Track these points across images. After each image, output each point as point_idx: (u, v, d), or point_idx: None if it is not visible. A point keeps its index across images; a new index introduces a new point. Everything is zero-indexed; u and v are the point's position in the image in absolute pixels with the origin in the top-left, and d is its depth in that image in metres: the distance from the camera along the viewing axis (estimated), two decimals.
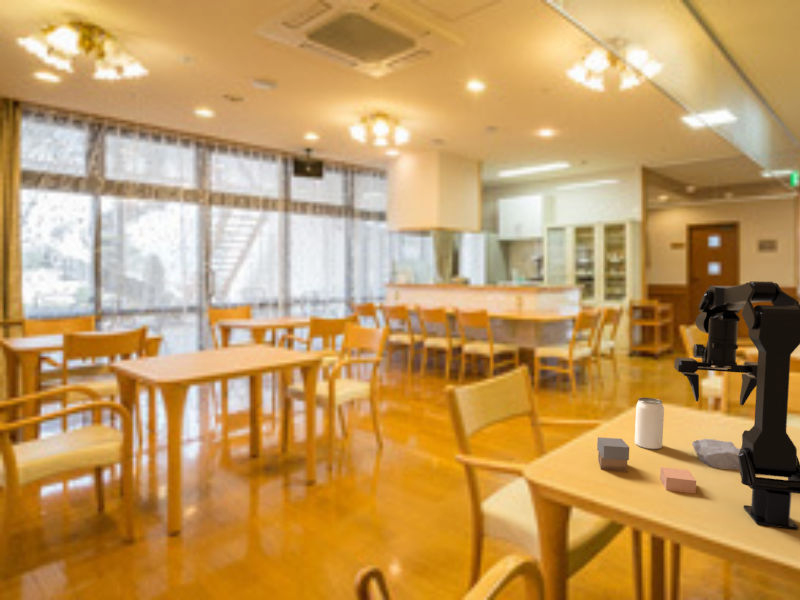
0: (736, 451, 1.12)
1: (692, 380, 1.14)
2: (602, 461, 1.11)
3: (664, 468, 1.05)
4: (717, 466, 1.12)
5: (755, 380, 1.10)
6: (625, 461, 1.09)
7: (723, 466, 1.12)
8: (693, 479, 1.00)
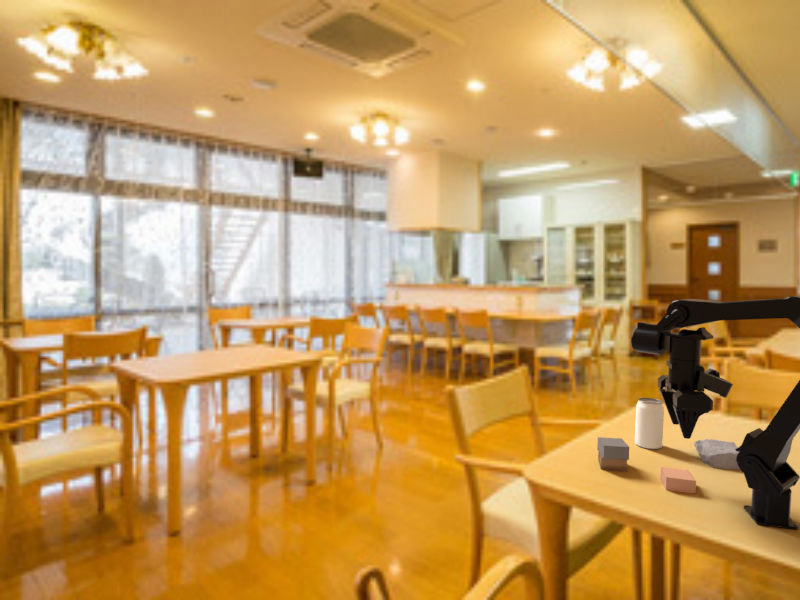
0: (738, 451, 1.12)
1: (662, 397, 1.09)
2: (602, 461, 1.11)
3: (664, 468, 1.05)
4: (719, 466, 1.12)
5: (674, 407, 0.97)
6: (625, 461, 1.10)
7: (725, 466, 1.12)
8: (693, 479, 1.00)
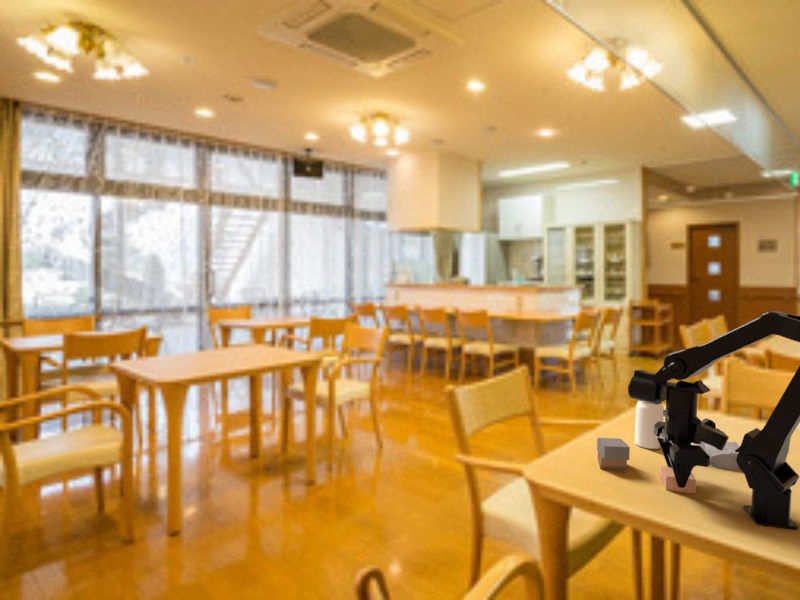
0: None
1: (660, 447, 1.07)
2: (602, 461, 1.11)
3: (664, 467, 1.05)
4: (722, 467, 1.12)
5: (669, 457, 0.99)
6: (624, 461, 1.10)
7: (728, 467, 1.12)
8: (693, 478, 1.00)
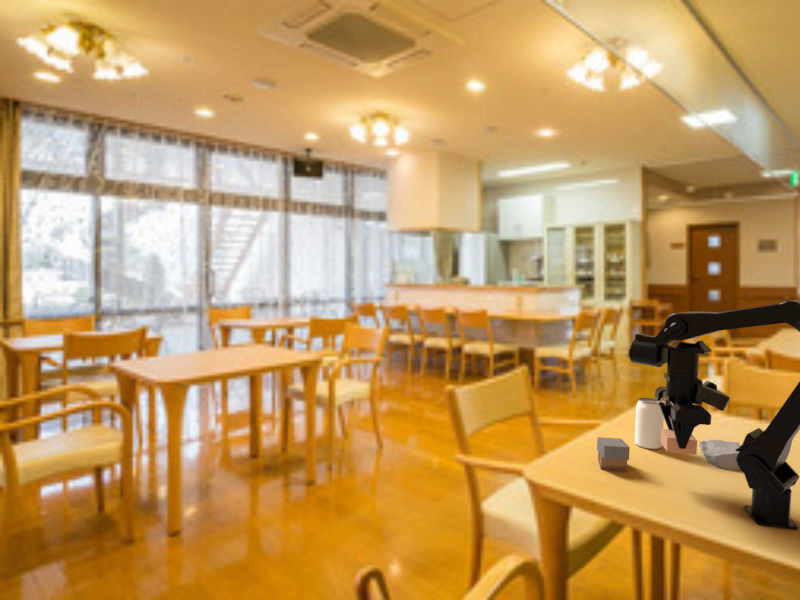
0: None
1: (661, 410, 1.07)
2: (602, 461, 1.11)
3: (665, 430, 1.05)
4: (725, 467, 1.12)
5: (670, 417, 0.98)
6: (625, 461, 1.10)
7: (731, 467, 1.12)
8: (694, 439, 0.99)
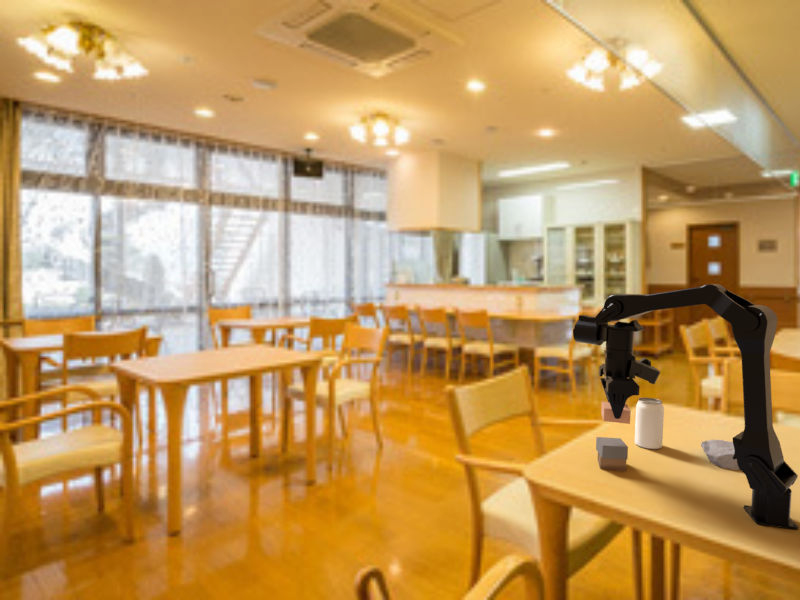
0: None
1: (602, 385, 1.16)
2: (601, 460, 1.11)
3: (605, 402, 1.14)
4: (727, 467, 1.12)
5: (605, 390, 1.08)
6: (624, 460, 1.10)
7: (733, 467, 1.11)
8: (628, 410, 1.09)
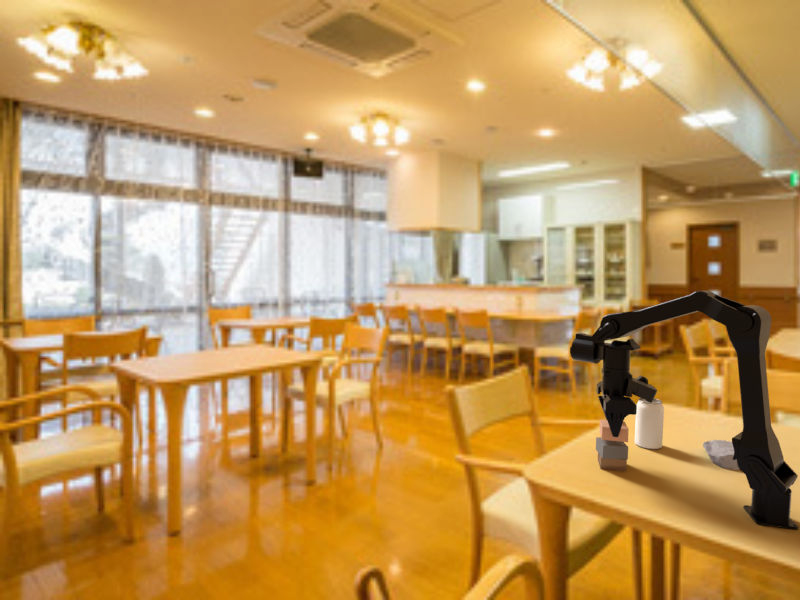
0: None
1: (600, 403, 1.17)
2: (602, 461, 1.11)
3: (603, 420, 1.15)
4: (730, 467, 1.12)
5: (603, 409, 1.08)
6: (624, 461, 1.10)
7: (736, 467, 1.11)
8: (626, 428, 1.09)
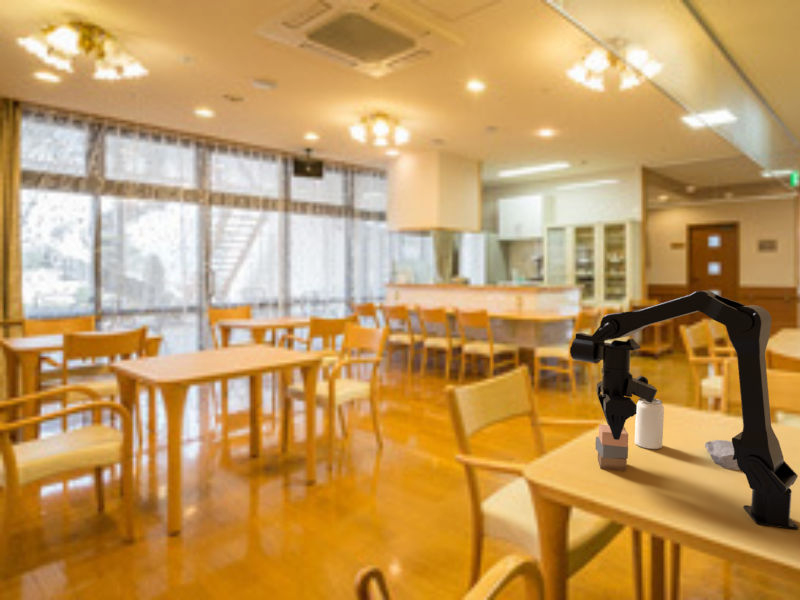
0: None
1: None
2: (602, 460, 1.11)
3: (602, 425, 1.15)
4: (732, 467, 1.11)
5: (604, 411, 1.07)
6: (624, 460, 1.10)
7: (738, 467, 1.11)
8: (626, 433, 1.10)
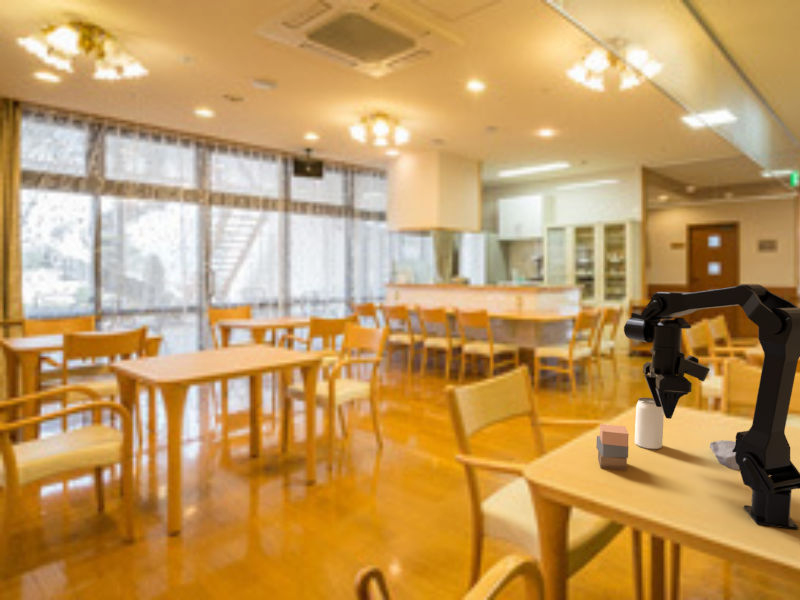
0: None
1: None
2: (602, 460, 1.11)
3: (603, 424, 1.15)
4: (737, 468, 1.11)
5: (656, 389, 1.06)
6: (625, 460, 1.10)
7: None
8: (626, 432, 1.10)
